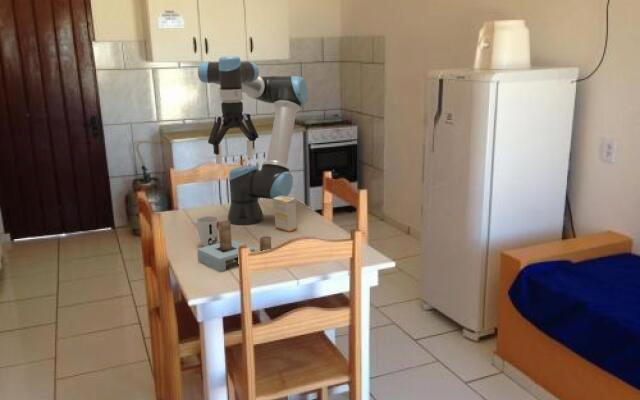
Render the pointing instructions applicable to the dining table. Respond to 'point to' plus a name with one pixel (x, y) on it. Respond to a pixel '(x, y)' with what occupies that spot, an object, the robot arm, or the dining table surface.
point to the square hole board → (218, 255)
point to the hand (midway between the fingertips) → (235, 160)
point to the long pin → (225, 237)
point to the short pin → (265, 243)
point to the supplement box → (285, 213)
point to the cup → (208, 230)
